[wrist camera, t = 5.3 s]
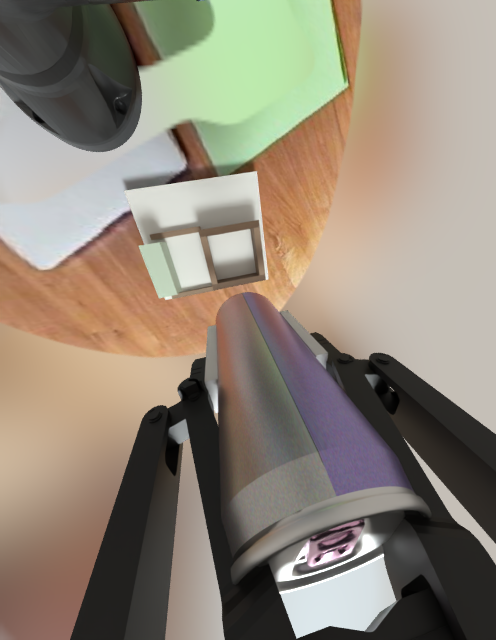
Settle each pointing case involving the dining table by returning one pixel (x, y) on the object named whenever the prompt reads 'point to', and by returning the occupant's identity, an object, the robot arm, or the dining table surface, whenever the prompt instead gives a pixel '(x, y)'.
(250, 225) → the socket
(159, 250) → the block
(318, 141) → the dining table surface
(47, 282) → the dining table surface
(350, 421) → the beverage can
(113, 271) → the dining table surface
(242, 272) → the board
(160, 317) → the dining table surface
